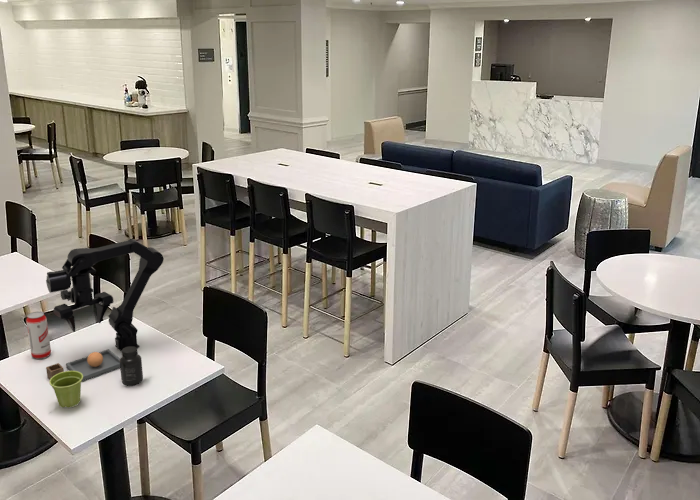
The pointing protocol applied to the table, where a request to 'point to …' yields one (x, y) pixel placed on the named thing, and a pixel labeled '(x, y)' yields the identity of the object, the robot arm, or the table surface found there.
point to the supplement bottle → (131, 366)
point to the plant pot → (67, 387)
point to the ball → (95, 359)
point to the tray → (89, 372)
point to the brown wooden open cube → (54, 370)
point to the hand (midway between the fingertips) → (86, 327)
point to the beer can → (38, 335)
